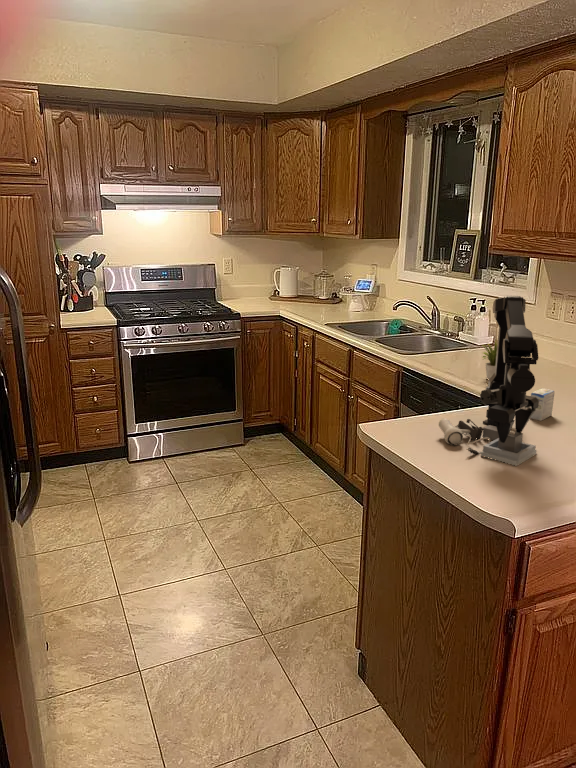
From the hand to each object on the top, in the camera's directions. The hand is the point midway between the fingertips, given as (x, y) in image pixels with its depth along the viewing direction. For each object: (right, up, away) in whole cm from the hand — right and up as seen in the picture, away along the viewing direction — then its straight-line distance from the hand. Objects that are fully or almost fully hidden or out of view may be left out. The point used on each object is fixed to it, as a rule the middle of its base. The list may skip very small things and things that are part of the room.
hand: (510, 438), depth 163 cm
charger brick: (0, -4, +1) cm, 4 cm away
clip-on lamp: (-9, -3, +10) cm, 14 cm away
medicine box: (+22, +4, +33) cm, 40 cm away
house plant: (+22, +16, +80) cm, 85 cm away
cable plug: (0, -2, +14) cm, 14 cm away
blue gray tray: (0, -5, +1) cm, 5 cm away
